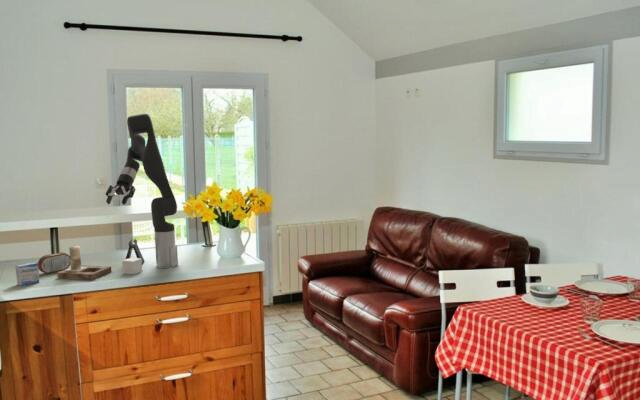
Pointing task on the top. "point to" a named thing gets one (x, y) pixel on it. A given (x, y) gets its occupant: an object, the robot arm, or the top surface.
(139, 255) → the dark grey angled piece
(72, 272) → the brown wooden tray
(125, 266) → the white rounded cube
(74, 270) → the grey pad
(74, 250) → the birch peg
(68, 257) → the tin
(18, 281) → the medicine box
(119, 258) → the top surface
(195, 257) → the top surface
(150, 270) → the top surface
